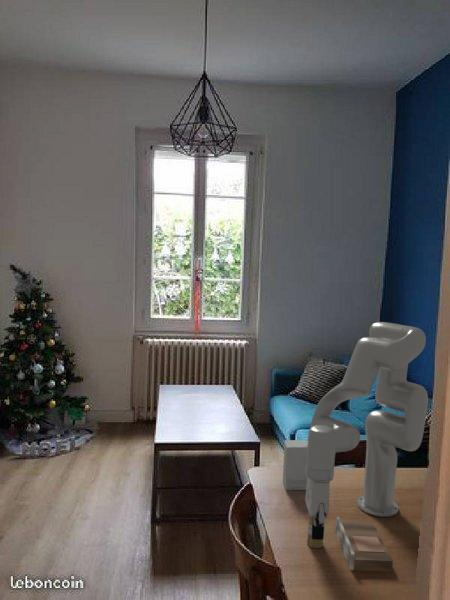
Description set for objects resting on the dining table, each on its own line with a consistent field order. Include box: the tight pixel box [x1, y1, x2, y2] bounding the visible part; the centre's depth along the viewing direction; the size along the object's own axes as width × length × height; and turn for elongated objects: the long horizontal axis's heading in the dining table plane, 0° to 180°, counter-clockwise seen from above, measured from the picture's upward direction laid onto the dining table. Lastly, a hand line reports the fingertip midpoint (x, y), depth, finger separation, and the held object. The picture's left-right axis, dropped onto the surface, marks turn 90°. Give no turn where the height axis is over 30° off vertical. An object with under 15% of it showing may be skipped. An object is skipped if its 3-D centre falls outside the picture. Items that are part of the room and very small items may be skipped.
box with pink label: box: [334, 516, 394, 573], centre depth 142 cm, size 18×11×4 cm, turn 0°
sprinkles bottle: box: [306, 513, 326, 549], centre depth 144 cm, size 5×5×13 cm
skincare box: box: [282, 439, 308, 491], centre depth 177 cm, size 8×7×16 cm
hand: (315, 532), depth 144 cm, fingers closed on sprinkles bottle, 4 cm apart
